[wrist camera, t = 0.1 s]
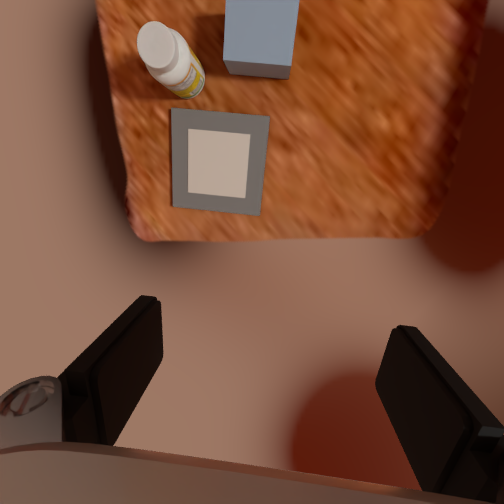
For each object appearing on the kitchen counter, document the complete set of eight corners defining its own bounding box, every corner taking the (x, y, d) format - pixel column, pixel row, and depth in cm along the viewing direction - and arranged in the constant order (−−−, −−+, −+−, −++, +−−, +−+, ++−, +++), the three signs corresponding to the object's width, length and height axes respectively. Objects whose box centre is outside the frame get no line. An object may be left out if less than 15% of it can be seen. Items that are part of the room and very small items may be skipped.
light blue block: (233, 14, 32) (226, -12, 27) (296, 19, 31) (300, -7, 27) (230, 74, 34) (223, 59, 29) (288, 79, 34) (290, 65, 29)
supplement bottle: (206, 99, 35) (183, 76, 26) (169, 99, 35) (134, 77, 26) (204, 53, 33) (178, 11, 24) (165, 53, 34) (126, 13, 25)
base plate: (172, 108, 36) (170, 107, 35) (269, 117, 35) (269, 116, 34) (174, 205, 40) (172, 206, 40) (259, 215, 40) (259, 215, 39)
